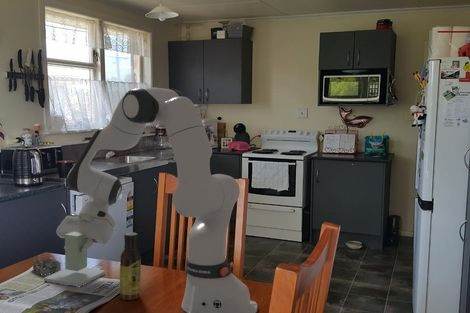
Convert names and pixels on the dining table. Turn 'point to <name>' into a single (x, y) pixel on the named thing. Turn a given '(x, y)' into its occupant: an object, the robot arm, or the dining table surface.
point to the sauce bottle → (130, 268)
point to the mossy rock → (47, 266)
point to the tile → (74, 276)
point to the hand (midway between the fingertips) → (74, 250)
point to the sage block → (75, 251)
